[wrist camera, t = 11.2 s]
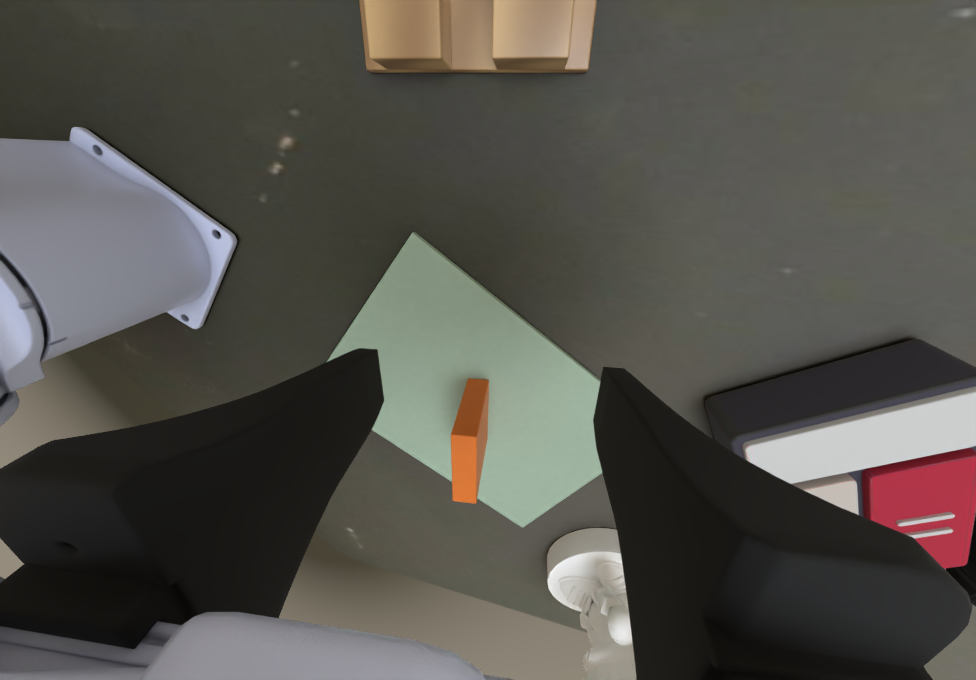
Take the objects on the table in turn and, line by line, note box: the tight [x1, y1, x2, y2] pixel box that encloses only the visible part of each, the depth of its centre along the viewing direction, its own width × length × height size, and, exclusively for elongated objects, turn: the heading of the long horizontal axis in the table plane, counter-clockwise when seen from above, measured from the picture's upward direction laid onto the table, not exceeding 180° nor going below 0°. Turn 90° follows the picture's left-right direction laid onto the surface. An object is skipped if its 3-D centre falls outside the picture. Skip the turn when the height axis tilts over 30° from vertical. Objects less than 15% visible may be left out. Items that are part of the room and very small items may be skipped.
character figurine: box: [547, 528, 637, 680], centre depth 25 cm, size 9×10×12 cm
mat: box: [327, 232, 602, 528], centre depth 25 cm, size 20×14×1 cm
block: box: [451, 378, 489, 503], centre depth 22 cm, size 1×5×6 cm, turn 179°
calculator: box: [705, 339, 976, 568], centre depth 22 cm, size 11×4×15 cm
